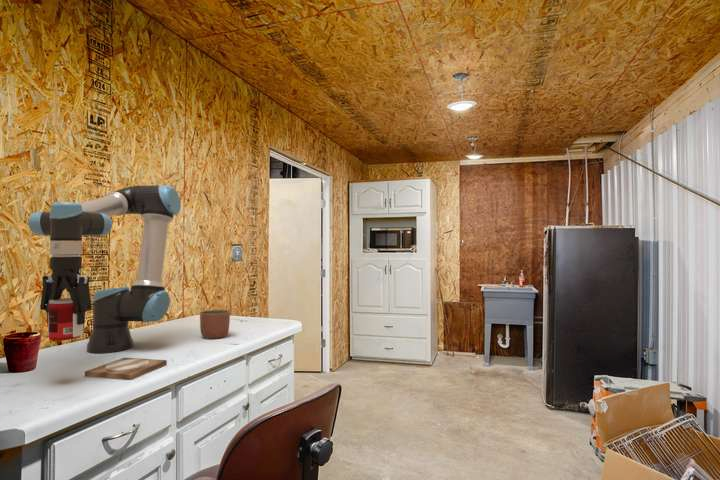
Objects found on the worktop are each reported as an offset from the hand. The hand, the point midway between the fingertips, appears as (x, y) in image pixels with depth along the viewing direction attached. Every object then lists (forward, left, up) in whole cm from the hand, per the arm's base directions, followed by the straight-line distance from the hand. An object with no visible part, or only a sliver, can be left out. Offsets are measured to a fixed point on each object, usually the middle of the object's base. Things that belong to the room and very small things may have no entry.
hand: (65, 335), depth 118 cm
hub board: (+9, +14, -14) cm, 21 cm away
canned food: (0, 0, -1) cm, 1 cm away
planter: (+10, +64, -14) cm, 66 cm away
